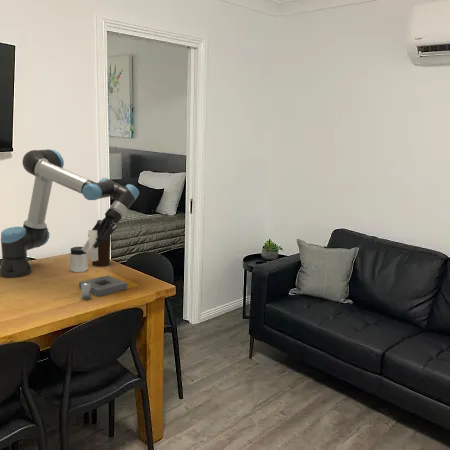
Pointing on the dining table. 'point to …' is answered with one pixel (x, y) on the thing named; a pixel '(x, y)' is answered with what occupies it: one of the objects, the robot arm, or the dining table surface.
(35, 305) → the dining table surface
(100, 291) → the hole plate
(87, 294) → the short pin
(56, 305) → the dining table surface
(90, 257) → the long pin
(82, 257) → the jar
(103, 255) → the olive oil
